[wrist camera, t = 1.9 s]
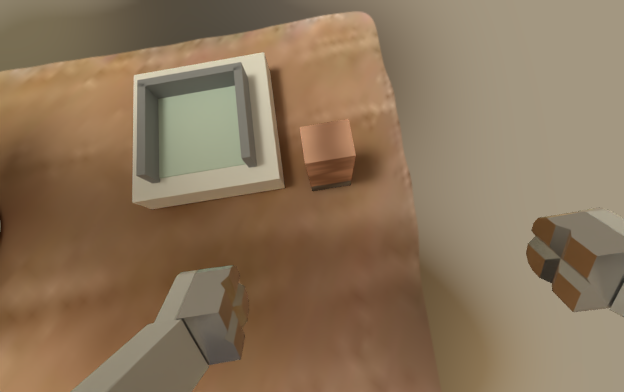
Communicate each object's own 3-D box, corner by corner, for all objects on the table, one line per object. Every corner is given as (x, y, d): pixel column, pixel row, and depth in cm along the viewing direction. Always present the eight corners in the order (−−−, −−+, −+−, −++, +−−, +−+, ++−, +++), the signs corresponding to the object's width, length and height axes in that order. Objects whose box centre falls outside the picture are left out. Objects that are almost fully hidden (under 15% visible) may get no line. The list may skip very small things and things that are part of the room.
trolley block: (312, 191, 38) (304, 163, 29) (308, 162, 40) (299, 127, 30) (350, 185, 38) (355, 155, 29) (345, 156, 39) (348, 118, 30)
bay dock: (151, 209, 39) (114, 196, 33) (151, 92, 44) (118, 59, 37) (284, 188, 39) (274, 170, 32) (270, 71, 43) (258, 34, 37)
